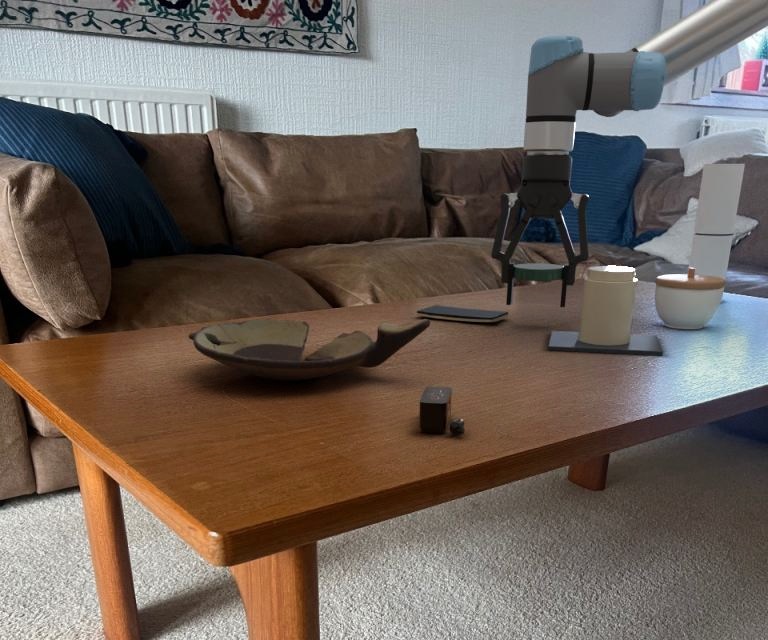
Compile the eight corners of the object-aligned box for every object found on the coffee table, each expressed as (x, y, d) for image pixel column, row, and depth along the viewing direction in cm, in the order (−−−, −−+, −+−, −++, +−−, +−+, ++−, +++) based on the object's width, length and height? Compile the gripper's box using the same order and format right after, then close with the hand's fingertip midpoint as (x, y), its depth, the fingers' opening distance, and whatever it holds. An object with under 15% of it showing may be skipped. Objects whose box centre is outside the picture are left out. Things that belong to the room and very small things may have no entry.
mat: (656, 339, 121) (656, 335, 121) (662, 355, 111) (663, 351, 111) (551, 334, 125) (551, 330, 125) (548, 350, 114) (548, 346, 114)
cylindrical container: (679, 301, 155) (699, 163, 145) (689, 296, 161) (709, 163, 151) (716, 304, 152) (740, 163, 142) (725, 299, 157) (748, 163, 147)
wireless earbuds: (417, 436, 78) (417, 404, 77) (425, 415, 84) (426, 386, 83) (463, 438, 77) (465, 406, 76) (468, 417, 84) (470, 387, 82)
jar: (628, 336, 120) (637, 266, 116) (631, 346, 113) (640, 272, 109) (578, 334, 122) (584, 265, 118) (577, 344, 115) (584, 271, 111)
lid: (510, 280, 125) (511, 268, 124) (514, 273, 132) (515, 262, 131) (562, 281, 123) (563, 270, 122) (564, 275, 130) (565, 264, 130)
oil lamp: (270, 347, 116) (267, 295, 113) (447, 374, 101) (448, 313, 98) (154, 379, 99) (147, 318, 96) (346, 416, 84) (344, 345, 81)
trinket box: (655, 318, 138) (662, 263, 134) (720, 323, 133) (729, 266, 130) (645, 329, 129) (652, 270, 125) (714, 334, 125) (724, 273, 121)
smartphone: (434, 304, 144) (510, 311, 137) (434, 311, 145) (509, 318, 137) (415, 310, 138) (492, 318, 131) (415, 317, 139) (492, 325, 132)
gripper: (617, 154, 121) (600, 303, 131) (483, 154, 126) (475, 298, 135) (618, 153, 115) (600, 311, 124) (477, 153, 119) (470, 305, 128)
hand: (535, 304), depth 129 cm, fingers closed on lid, 8 cm apart
